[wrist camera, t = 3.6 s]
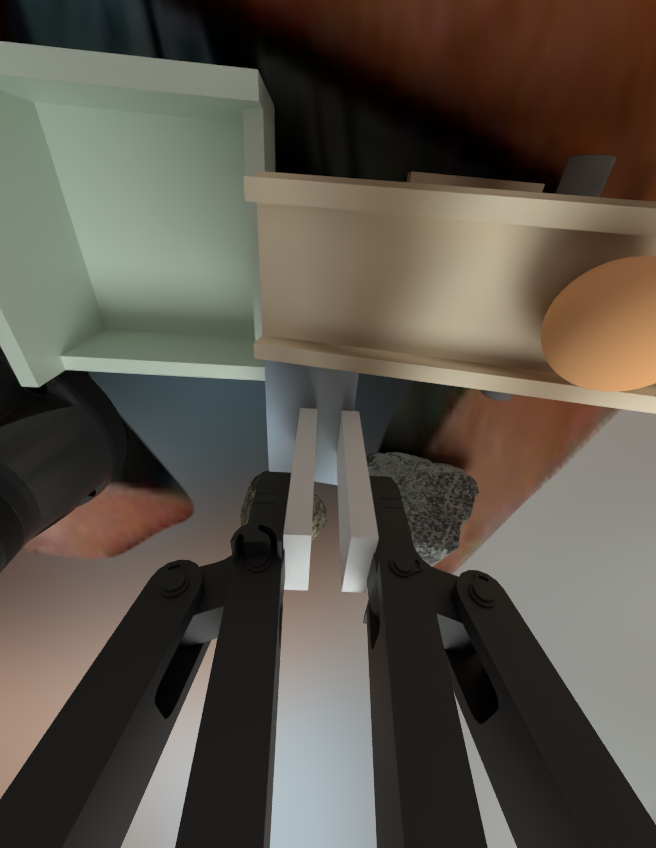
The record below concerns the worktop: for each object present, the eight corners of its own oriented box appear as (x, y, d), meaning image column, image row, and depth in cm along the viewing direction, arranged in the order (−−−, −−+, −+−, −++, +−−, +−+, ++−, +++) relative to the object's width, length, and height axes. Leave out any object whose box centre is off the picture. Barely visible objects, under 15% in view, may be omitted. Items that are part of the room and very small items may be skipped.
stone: (474, 544, 18) (370, 622, 23) (507, 505, 26) (425, 569, 31) (369, 427, 22) (298, 512, 27) (424, 423, 30) (363, 490, 35)
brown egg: (678, 430, 8) (636, 378, 11) (807, 276, 6) (716, 259, 9) (522, 392, 9) (520, 354, 12) (587, 252, 7) (567, 244, 10)
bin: (102, 337, 21) (21, 386, 16) (17, 79, 15) (-181, -3, 9) (278, 347, 22) (263, 398, 16) (274, 106, 15) (247, 45, 10)
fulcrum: (382, 325, 21) (412, 381, 15) (407, 172, 17) (467, 150, 10) (577, 338, 22) (692, 396, 15) (651, 195, 18) (859, 189, 11)
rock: (221, 486, 30) (207, 526, 26) (297, 458, 28) (294, 497, 24) (261, 530, 33) (253, 572, 29) (330, 508, 32) (332, 549, 28)
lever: (279, 451, 19) (252, 508, 15) (274, 140, 11) (216, 104, 7) (650, 513, 17) (720, 596, 13) (958, 186, 9) (1335, 168, 5)
